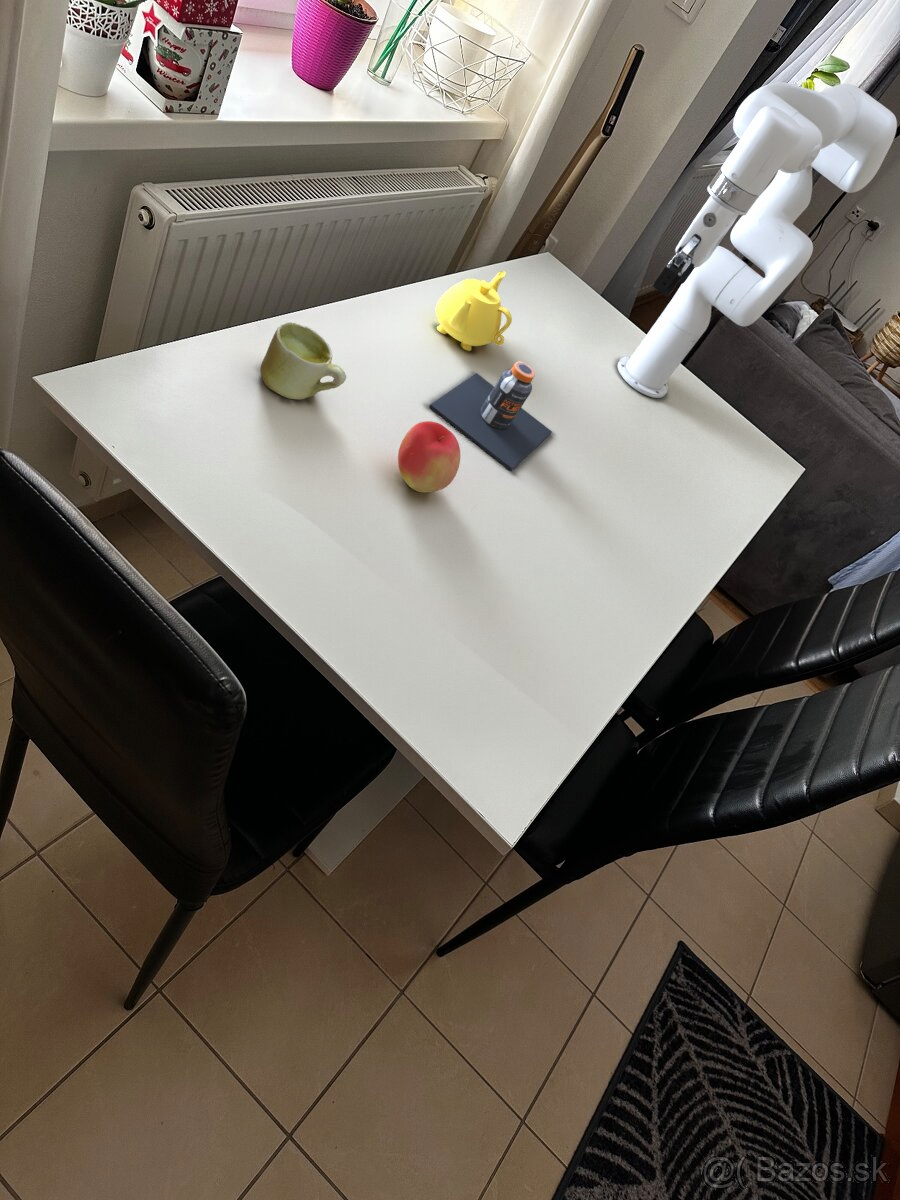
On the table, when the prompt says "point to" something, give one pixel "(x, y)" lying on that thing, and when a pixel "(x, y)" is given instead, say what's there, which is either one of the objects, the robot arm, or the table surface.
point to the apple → (428, 457)
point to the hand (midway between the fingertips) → (668, 285)
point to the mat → (500, 443)
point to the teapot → (473, 312)
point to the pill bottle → (508, 395)
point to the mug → (299, 363)
